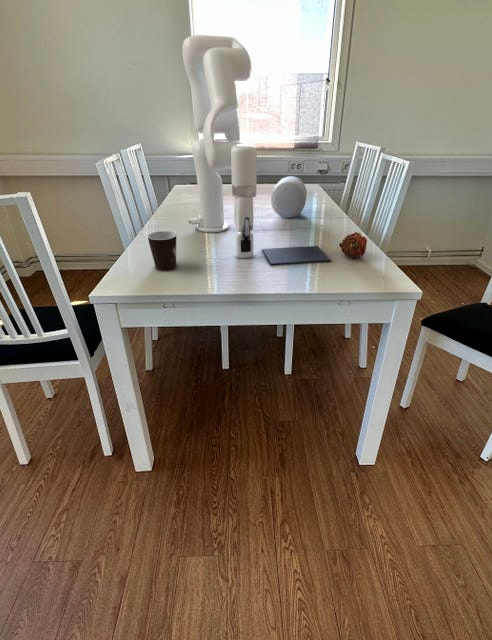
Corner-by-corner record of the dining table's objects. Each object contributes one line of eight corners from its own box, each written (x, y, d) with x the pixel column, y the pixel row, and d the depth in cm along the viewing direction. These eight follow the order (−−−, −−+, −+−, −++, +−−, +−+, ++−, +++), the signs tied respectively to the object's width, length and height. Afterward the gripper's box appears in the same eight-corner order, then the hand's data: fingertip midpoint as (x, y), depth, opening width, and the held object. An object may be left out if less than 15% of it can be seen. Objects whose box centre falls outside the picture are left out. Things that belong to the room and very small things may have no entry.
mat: (270, 265, 126) (270, 263, 126) (262, 250, 137) (262, 248, 137) (330, 261, 129) (330, 259, 129) (317, 247, 140) (317, 245, 140)
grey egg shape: (255, 205, 170) (271, 185, 187) (277, 232, 175) (290, 210, 192) (288, 177, 158) (301, 158, 175) (310, 206, 163) (321, 185, 180)
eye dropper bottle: (251, 259, 130) (251, 222, 123) (235, 258, 131) (234, 221, 124) (254, 255, 133) (254, 218, 127) (238, 253, 134) (237, 217, 128)
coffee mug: (166, 274, 119) (162, 241, 114) (146, 268, 123) (141, 236, 117) (191, 262, 127) (188, 231, 122) (171, 257, 131) (167, 227, 126)
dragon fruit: (352, 267, 129) (346, 259, 139) (375, 252, 126) (367, 245, 137) (339, 246, 126) (333, 239, 136) (363, 230, 123) (355, 224, 134)
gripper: (228, 185, 126) (230, 242, 137) (235, 197, 113) (237, 259, 124) (251, 184, 128) (251, 241, 138) (261, 196, 114) (260, 257, 125)
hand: (244, 248), depth 131 cm, fingers closed on eye dropper bottle, 3 cm apart
